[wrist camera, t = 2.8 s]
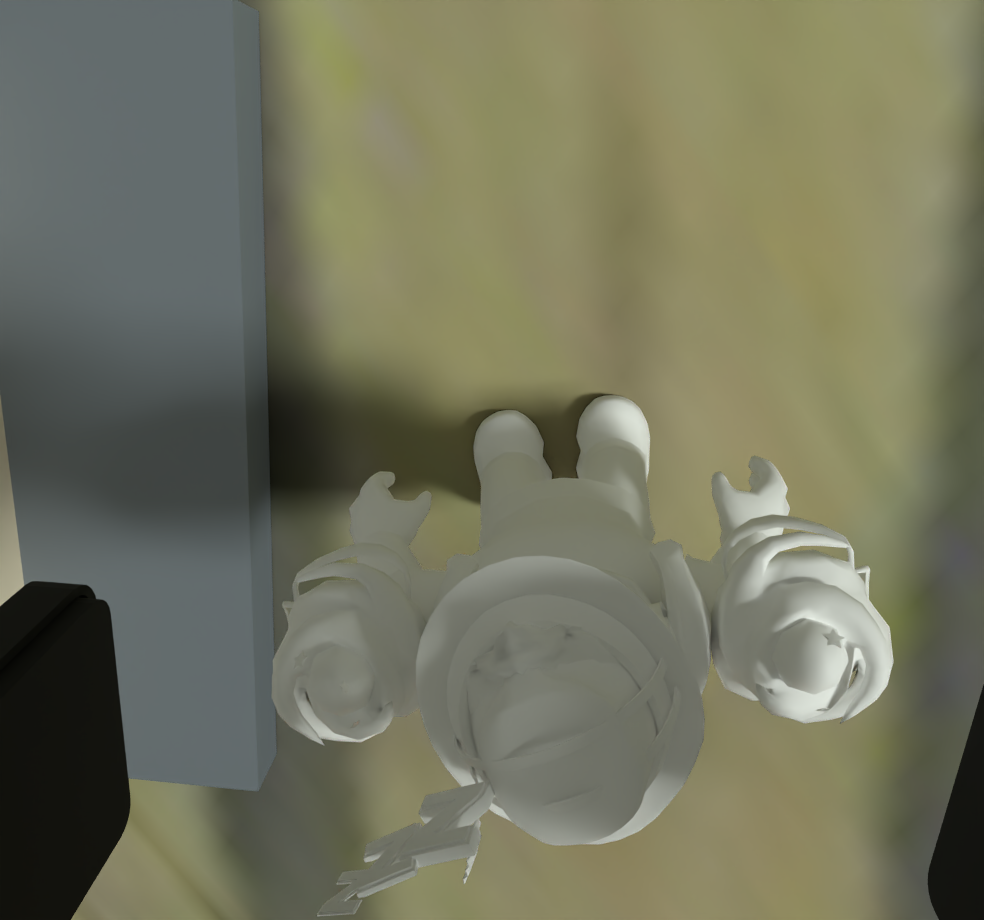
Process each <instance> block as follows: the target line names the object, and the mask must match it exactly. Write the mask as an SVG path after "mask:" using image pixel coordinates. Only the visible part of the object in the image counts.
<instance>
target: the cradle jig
mask: <svg viewBox="0 0 984 920" xmlns="http://www.w3.org/2000/svg"><path fill="white" fill-rule="evenodd" d="M31 581H45V582H58V583H70V584H83V585H88V586H89V587H91V588H92V590H93V592H94V593H95V595H96V599H102V600H104V601H106V602H107V604H108V605H109V607H110V612H111V619H112V629H113V638H114V648H115V657H116V667H117V676H118V686H119V695H120V705H121V714H122V724H123V733H124V742H125V752H126V761H127V771H128V778H130V779H140V780H150V781H160V782H170V783H180V784H190V785H199V786H209V787H219V788H229V789H239V790H249V791H259V789H260V787H261V785H262V783H263V781H264V779H265V777H266V775H267V772H268V770H269V768H270V766H271V764H272V762H273V760H274V758H275V756H276V754H277V752H276V711H275V705H274V702H273V700H272V674H273V659H274V628H273V586H272V544H271V503H270V461H269V420H268V378H267V337H266V295H265V254H264V212H263V170H262V129H261V87H260V46H259V11H257V10H255V9H253V8H251V7H249V6H247V5H245V4H244V3H242V2H240V1H238V0H0V606H1V605H2V604H3V603H4V602H6V601H7V600H8V599H9V598H10V597H12V596H13V595H14V594H15V593H16V592H17V591H19V590H20V589H21V588H22V587H23V586H24V585H26V584H28V583H29V582H31Z"/></svg>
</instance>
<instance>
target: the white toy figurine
mask: <svg viewBox="0 0 984 920" xmlns="http://www.w3.org/2000/svg"><path fill="white" fill-rule="evenodd" d="M576 438H577V441H578V444H579V447H580V450H581V451H580V455H579V459H578V462H577V466H576V471H577V475H578V478H579V479H578V478H557V479H552V471H551V470H550V468H549V466H548V465H547V463H546V461H545V459H544V458H543V446H544V441H543V439H542V437H541V435H540V433H539V431H538V429H537V427H536V425H535V424H534V423H533V422H532V421H531V420H530V419H529V418H528V417H527V416H525V415H524V414H522V413H520V412H518V411H516V410H504V411H498V412H496V413H494V414H492V415H490V416H489V417H487V418H486V419H485V420H483V421H482V423H481V424H480V426H479V428H478V429H477V431H476V435H475V440H474V445H473V449H474V461H475V465H476V468H477V472H478V476H479V479H480V483H481V532H480V539H479V546H480V548H481V549H480V550H478V551H477V552H476V553H474V554H473V555H472V556H470V555H465V554H456V555H454V556H453V557H451V558H450V559H448V560H447V571H441V570H431V569H422V567H421V565H420V563H419V562H418V560H417V559H416V557H415V556H414V554H413V553H412V551H411V550H410V549H409V545H410V543H411V542H412V540H413V539H414V538H415V536H416V533H417V531H418V528H419V527H420V525H421V524H422V522H423V521H424V519H425V517H426V516H427V514H428V512H429V510H430V506H431V498H432V496H431V493H430V492H428V491H424V492H422V493H421V494H419V496H418V497H417V498H416V499H414V500H411V501H404V500H397V499H394V498H393V496H392V494H391V493H390V491H389V490H388V489H387V488H389V487H390V486H392V485H393V484H394V481H395V475H394V473H392V472H384V471H379V472H377V473H375V474H374V475H373V476H371V477H370V478H369V479H368V480H367V481H366V482H365V484H364V485H363V486H362V488H361V489H360V494H359V496H358V497H357V498H356V500H355V501H354V502H353V504H352V505H351V506H350V508H349V511H350V516H351V526H350V533H351V536H352V538H353V541H354V545H350V546H346V547H343V548H340V549H338V550H335V551H333V552H331V553H329V554H326V555H324V556H322V557H320V558H318V559H316V560H315V561H313V562H312V563H311V564H309V565H308V566H306V567H305V568H303V569H302V570H300V571H299V572H298V573H297V575H296V578H295V580H294V582H293V586H292V591H293V598H294V602H292V601H284V602H283V604H282V607H283V608H284V610H285V613H286V616H287V619H288V631H287V633H286V635H285V637H284V639H283V641H282V643H281V645H280V647H279V649H278V651H277V653H276V655H275V657H274V659H273V674H272V700H273V702H274V705H275V707H276V709H277V712H278V714H279V715H280V716H281V718H282V719H283V720H284V721H285V722H286V723H287V724H288V725H289V726H290V727H291V728H293V729H294V730H296V731H298V732H299V733H301V734H303V735H304V736H306V737H308V738H309V739H311V740H313V741H316V742H318V743H320V744H322V745H324V744H323V742H322V740H321V739H320V738H322V739H328V740H334V741H347V742H362V741H364V740H366V739H368V738H370V737H372V736H374V735H376V734H379V733H382V732H384V731H385V729H386V728H387V727H388V725H389V724H390V723H391V721H392V717H406V716H408V715H410V714H411V713H413V712H414V711H416V710H417V709H419V708H420V712H421V716H422V719H423V723H424V726H425V729H426V731H427V734H428V736H429V739H430V741H431V743H432V746H433V748H434V749H435V751H436V752H437V754H438V756H439V757H440V759H441V761H442V762H443V764H444V766H445V767H446V769H447V770H448V771H449V772H450V773H451V775H452V776H453V777H454V778H455V779H456V781H457V782H458V783H459V784H460V785H461V786H462V787H459V788H455V789H451V790H447V791H443V792H439V793H435V794H431V795H427V796H425V799H424V801H423V803H422V806H421V809H420V811H419V815H420V817H421V818H422V820H423V822H424V823H427V824H426V825H424V826H423V827H422V825H421V823H418V824H416V823H415V824H412V825H410V826H408V827H405V828H403V829H401V830H398V831H396V832H394V833H391V834H389V835H387V836H384V837H382V838H380V839H377V840H375V841H373V842H370V843H368V844H366V848H365V854H364V860H365V862H368V861H370V862H371V861H373V860H376V859H377V860H376V861H375V863H374V864H373V865H372V866H371V867H370V868H369V869H367V870H356V871H346V872H342V874H341V876H340V877H339V879H338V881H337V882H336V885H337V884H348V883H351V884H350V885H349V886H347V887H346V888H345V889H343V890H342V891H340V892H339V893H338V894H336V895H335V896H334V897H332V898H331V899H329V900H328V901H327V902H326V903H325V904H324V905H323V906H322V907H321V909H320V910H319V912H318V914H317V916H328V915H344V914H355V912H356V911H357V909H358V907H359V905H360V904H361V902H362V900H351V901H346V900H347V899H349V898H350V897H351V896H353V895H354V894H355V893H357V896H358V898H361V897H366V896H368V895H371V894H373V893H376V892H378V891H380V890H383V889H385V888H387V887H390V886H392V885H395V884H397V883H399V882H402V881H404V880H406V879H409V878H411V877H414V876H416V874H417V871H418V868H419V867H424V866H428V865H433V864H438V863H442V862H447V861H452V860H456V859H461V858H466V857H468V858H467V861H466V862H467V867H466V869H465V875H464V877H463V882H464V884H465V882H466V880H467V877H468V875H469V873H470V870H471V868H472V865H473V862H474V860H475V857H476V854H477V852H478V849H477V848H478V845H479V842H480V839H481V834H480V833H481V832H480V830H479V828H480V825H481V822H480V820H479V818H480V817H481V816H482V815H483V814H484V813H485V812H487V810H488V809H490V810H491V811H492V812H494V813H495V814H497V815H499V816H501V817H503V818H505V819H507V820H510V821H512V822H513V823H514V824H515V825H516V826H518V827H519V828H521V829H522V830H523V831H525V832H526V833H528V834H529V835H531V836H533V837H534V838H536V839H538V840H539V841H541V842H543V843H547V844H551V845H578V844H603V843H608V842H612V841H616V840H620V839H623V838H625V837H627V836H629V835H631V834H634V833H636V832H638V831H640V830H641V829H642V828H644V827H645V826H646V825H648V824H649V823H650V822H651V821H653V820H654V819H655V818H657V816H658V815H659V814H660V813H661V812H662V811H663V810H664V808H665V807H666V806H667V805H668V804H669V803H670V802H671V800H672V799H673V798H674V797H675V795H676V794H677V793H678V792H679V790H680V789H681V788H682V786H683V785H684V784H685V782H686V780H687V778H688V776H689V774H690V772H691V770H692V768H693V766H694V764H695V762H696V759H697V756H698V754H699V751H700V748H701V745H702V743H703V738H704V720H705V719H704V710H703V702H702V696H701V695H702V692H703V690H704V687H705V685H706V682H707V677H708V672H709V667H710V662H711V652H712V658H713V664H714V666H715V668H716V671H717V673H718V675H719V677H720V679H721V681H722V684H723V686H724V688H725V689H728V690H730V691H732V692H734V693H736V694H738V695H740V696H742V697H745V698H747V699H749V700H751V701H756V700H759V701H760V703H761V705H762V706H763V707H764V708H765V709H766V710H767V711H769V712H770V713H771V714H772V715H776V716H780V717H785V718H790V719H794V720H796V721H799V722H802V723H810V722H817V721H824V720H831V719H836V718H840V717H843V718H842V720H841V722H840V723H842V722H844V721H846V720H848V719H849V718H851V717H853V716H855V715H856V714H858V713H859V712H861V711H862V710H863V709H865V708H866V707H868V706H869V705H870V704H872V703H873V702H874V701H876V700H877V699H878V698H879V696H880V694H881V693H882V692H883V690H884V689H885V688H886V686H887V684H888V680H889V676H890V672H891V669H892V665H893V653H892V645H891V636H890V627H889V626H888V625H887V623H886V622H885V621H884V619H883V618H882V617H881V615H880V614H879V613H878V611H877V610H876V609H875V607H874V606H873V605H872V603H871V602H870V601H869V575H870V568H869V567H868V565H867V566H860V567H857V568H854V551H853V549H852V547H851V546H850V544H849V542H848V540H847V538H846V537H845V536H844V535H842V534H840V533H838V532H836V531H834V530H832V529H830V528H828V527H826V526H824V525H822V524H818V523H815V522H811V521H808V520H804V519H801V518H797V517H792V516H788V513H789V510H790V507H789V505H788V503H787V500H786V498H785V496H786V493H787V489H788V488H787V486H786V484H785V482H784V480H783V478H782V476H781V475H780V473H779V472H778V470H777V469H776V467H775V466H774V465H773V464H772V463H771V462H770V461H769V460H766V459H763V458H760V457H758V456H753V457H751V459H750V461H749V468H750V470H751V471H752V472H753V473H752V474H751V476H750V479H749V484H750V486H751V488H752V489H751V491H750V492H747V491H738V490H737V489H735V488H733V487H732V486H731V485H730V484H729V482H728V480H727V478H726V477H725V475H724V474H723V473H721V472H716V473H715V474H714V475H713V476H712V496H713V499H714V503H715V506H716V509H717V512H718V515H719V521H720V526H721V530H722V532H721V536H720V542H721V546H722V547H721V548H720V549H719V550H718V551H717V552H716V554H715V555H714V557H713V558H712V559H711V561H710V562H708V561H704V560H700V559H696V558H692V557H691V556H689V555H688V554H687V556H686V559H685V560H684V556H683V550H682V545H681V544H679V543H677V542H675V541H673V540H671V539H670V540H666V541H662V542H658V543H657V544H656V545H655V544H654V543H652V540H653V537H654V535H655V531H654V528H653V524H652V521H651V518H650V503H649V496H648V489H647V483H646V482H647V475H648V472H649V449H650V435H649V429H648V424H647V421H646V419H645V417H644V415H643V413H642V411H641V409H640V408H639V407H638V406H637V405H636V404H635V403H634V402H633V401H631V400H629V399H627V398H624V397H621V396H617V395H606V396H601V397H598V398H595V399H594V400H593V401H592V402H591V403H590V404H589V405H588V406H587V407H586V408H585V410H584V412H583V413H582V415H581V417H580V419H579V424H578V429H577V435H576ZM783 528H788V529H798V530H804V531H809V532H814V533H818V534H823V535H826V536H823V535H817V534H810V533H805V532H794V533H788V534H782V532H783ZM827 536H828V537H827ZM830 537H831V538H830ZM799 546H829V547H841V548H845V547H846V549H847V552H848V562H847V561H843V560H840V559H837V558H835V557H832V556H830V555H827V554H824V553H822V552H819V551H816V550H803V551H792V552H782V553H778V552H780V551H783V550H787V549H791V548H795V547H799ZM354 556H357V561H358V563H336V562H335V561H338V560H342V559H346V558H350V557H354ZM332 562H334V563H332ZM329 563H331V564H329ZM326 564H329V565H326ZM324 565H325V566H324ZM321 566H322V567H321ZM318 567H319V568H318ZM329 576H339V577H346V578H353V579H356V580H334V581H325V582H323V583H322V584H320V585H318V586H317V587H315V588H313V589H312V590H310V591H308V592H306V593H304V594H302V595H300V596H299V591H298V585H299V582H303V581H308V580H313V579H317V578H323V577H329ZM854 671H856V674H855V677H854V680H853V683H852V685H851V686H850V687H849V688H848V686H849V682H850V678H851V674H852V673H853V672H854ZM309 699H310V700H309ZM324 746H325V745H324ZM473 823H474V824H473ZM471 824H473V825H471ZM470 825H471V826H470Z"/></svg>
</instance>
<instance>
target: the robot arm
mask: <svg viewBox="0 0 984 920" xmlns="http://www.w3.org/2000/svg"><path fill="white" fill-rule="evenodd" d="M129 812H130V790H129V780H128V771H127V761H126V752H125V742H124V733H123V724H122V714H121V705H120V695H119V686H118V676H117V667H116V657H115V648H114V638H113V629H112V619H111V612H110V607H109V605H108V604H107V602H106V601H104V600H102V599H96V595H95V593H94V592H93V590H92V588H91V587H89V586H88V585H83V584H70V583H58V582H45V581H31V582H29V583H28V584H26V585H24V586H23V587H22V588H21V589H20V590H19V591H17V592H16V593H15V594H14V595H13V596H12V597H10V598H9V599H8V600H7V601H6V602H4V603H3V604H2V605H1V606H0V920H71V918H72V917H73V915H74V913H75V912H76V910H77V908H78V907H79V905H80V904H81V902H82V900H83V899H84V897H85V895H86V894H87V892H88V890H89V889H90V887H91V885H92V884H93V882H94V881H95V879H96V877H97V876H98V874H99V872H100V871H101V869H102V867H103V866H104V864H105V863H106V861H107V859H108V858H109V856H110V854H111V853H112V851H113V849H114V848H115V846H116V844H117V843H118V841H119V840H120V838H121V836H122V834H123V832H124V830H125V827H126V824H127V821H128V817H129ZM928 889H929V895H930V899H931V903H932V906H933V908H934V911H935V913H936V914H937V916H938V918H939V920H984V685H983V689H982V692H981V695H980V699H979V702H978V705H977V709H976V712H975V716H974V719H973V722H972V726H971V729H970V732H969V736H968V739H967V742H966V746H965V749H964V753H963V756H962V759H961V763H960V766H959V769H958V773H957V776H956V779H955V783H954V786H953V790H952V793H951V796H950V800H949V803H948V806H947V810H946V813H945V816H944V820H943V823H942V827H941V830H940V833H939V837H938V840H937V843H936V847H935V850H934V853H933V857H932V860H931V864H930V867H929V872H928Z"/></svg>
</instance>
